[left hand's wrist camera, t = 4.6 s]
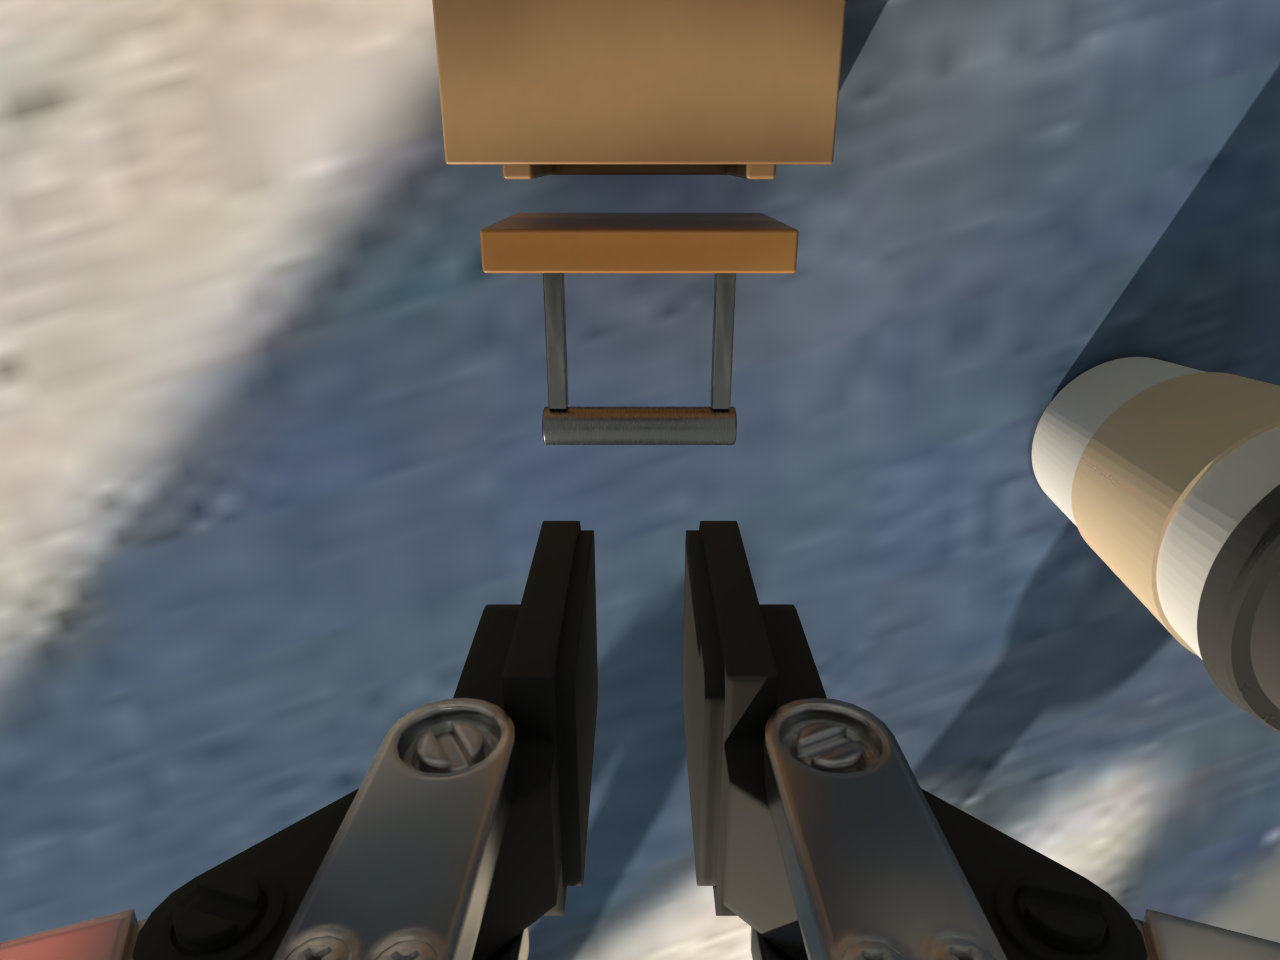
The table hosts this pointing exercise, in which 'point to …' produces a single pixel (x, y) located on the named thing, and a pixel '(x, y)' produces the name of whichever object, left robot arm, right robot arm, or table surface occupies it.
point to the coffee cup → (1180, 506)
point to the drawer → (639, 249)
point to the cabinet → (639, 81)
